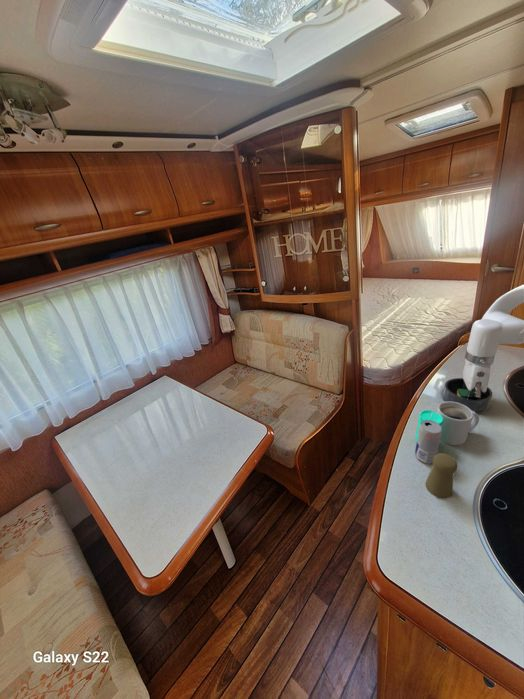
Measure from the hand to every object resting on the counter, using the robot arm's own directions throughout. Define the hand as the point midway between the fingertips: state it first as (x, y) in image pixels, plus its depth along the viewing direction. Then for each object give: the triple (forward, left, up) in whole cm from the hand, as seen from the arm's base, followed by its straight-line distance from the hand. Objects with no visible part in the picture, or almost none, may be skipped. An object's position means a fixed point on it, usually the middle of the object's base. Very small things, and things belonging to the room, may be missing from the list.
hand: (467, 400), depth 97 cm
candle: (+16, +23, -1) cm, 28 cm away
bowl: (+1, -1, -1) cm, 2 cm away
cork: (+15, +39, -1) cm, 42 cm away
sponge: (0, 0, 0) cm, 0 cm away
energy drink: (+17, +29, -1) cm, 33 cm away
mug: (+8, +18, -1) cm, 20 cm away
